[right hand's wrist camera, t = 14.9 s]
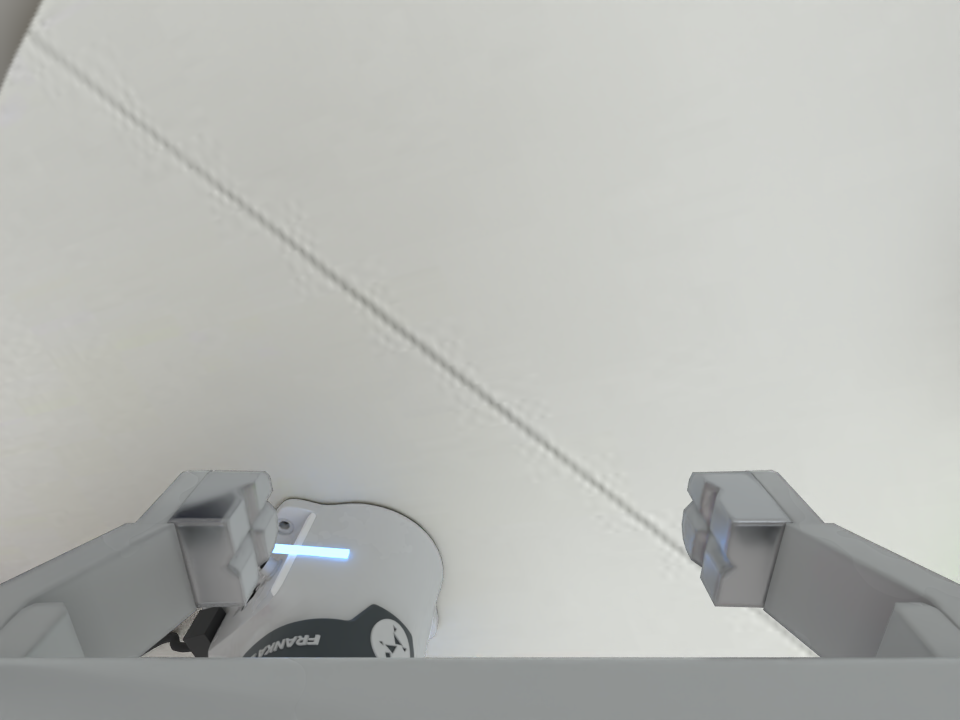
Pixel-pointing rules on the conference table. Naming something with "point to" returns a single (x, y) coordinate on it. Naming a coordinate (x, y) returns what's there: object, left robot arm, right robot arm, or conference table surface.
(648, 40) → the conference table surface
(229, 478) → the right robot arm
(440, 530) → the conference table surface
